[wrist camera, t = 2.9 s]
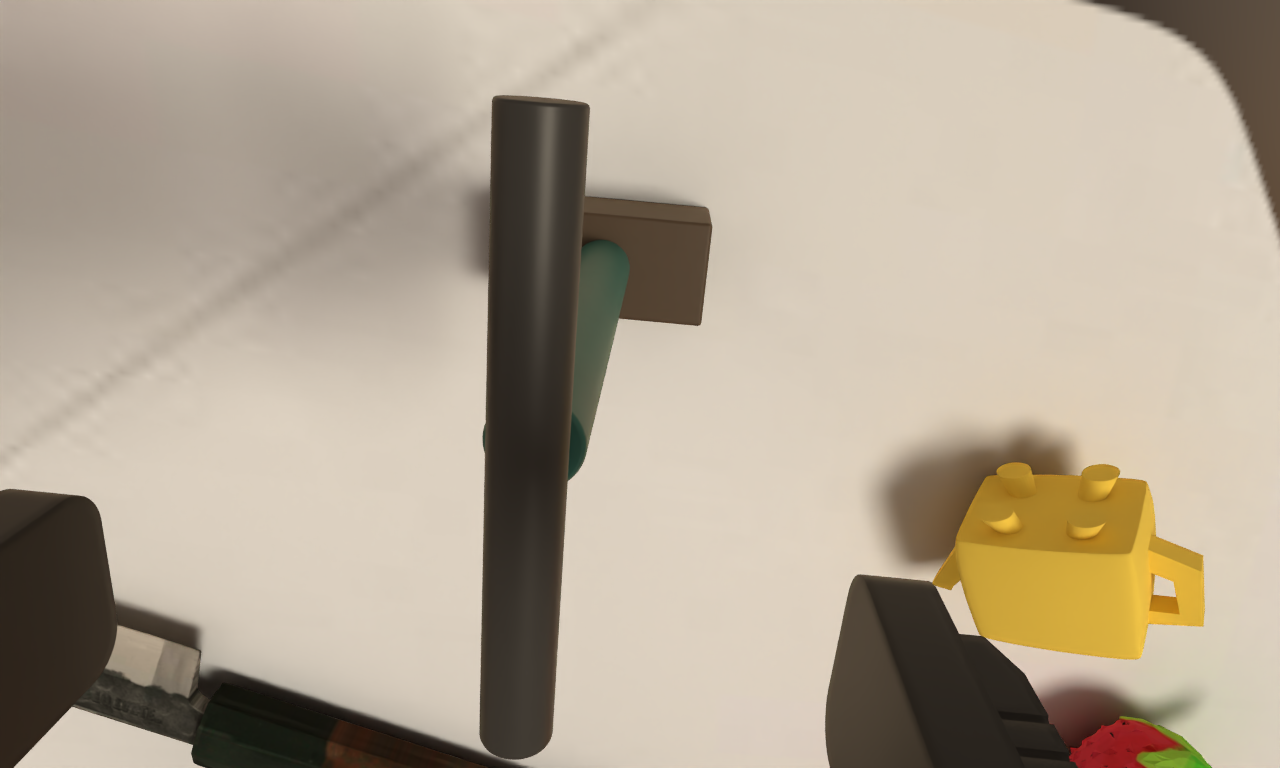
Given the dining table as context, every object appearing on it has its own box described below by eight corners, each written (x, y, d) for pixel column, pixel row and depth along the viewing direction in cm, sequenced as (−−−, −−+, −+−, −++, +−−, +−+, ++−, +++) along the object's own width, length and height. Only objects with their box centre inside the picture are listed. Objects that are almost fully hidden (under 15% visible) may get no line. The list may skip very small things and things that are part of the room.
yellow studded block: (942, 437, 31) (966, 554, 32) (890, 523, 27) (920, 653, 28) (1204, 437, 26) (1217, 576, 27) (1190, 545, 22) (1205, 701, 23)
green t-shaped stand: (512, 382, 28) (322, 741, 13) (521, 70, 25) (278, 78, 10) (687, 399, 28) (696, 780, 13) (722, 88, 25) (790, 124, 10)
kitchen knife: (653, 822, 32) (609, 906, 34) (655, 777, 34) (613, 858, 36) (-301, 513, 29) (-296, 624, 31) (-237, 483, 31) (-236, 589, 33)
